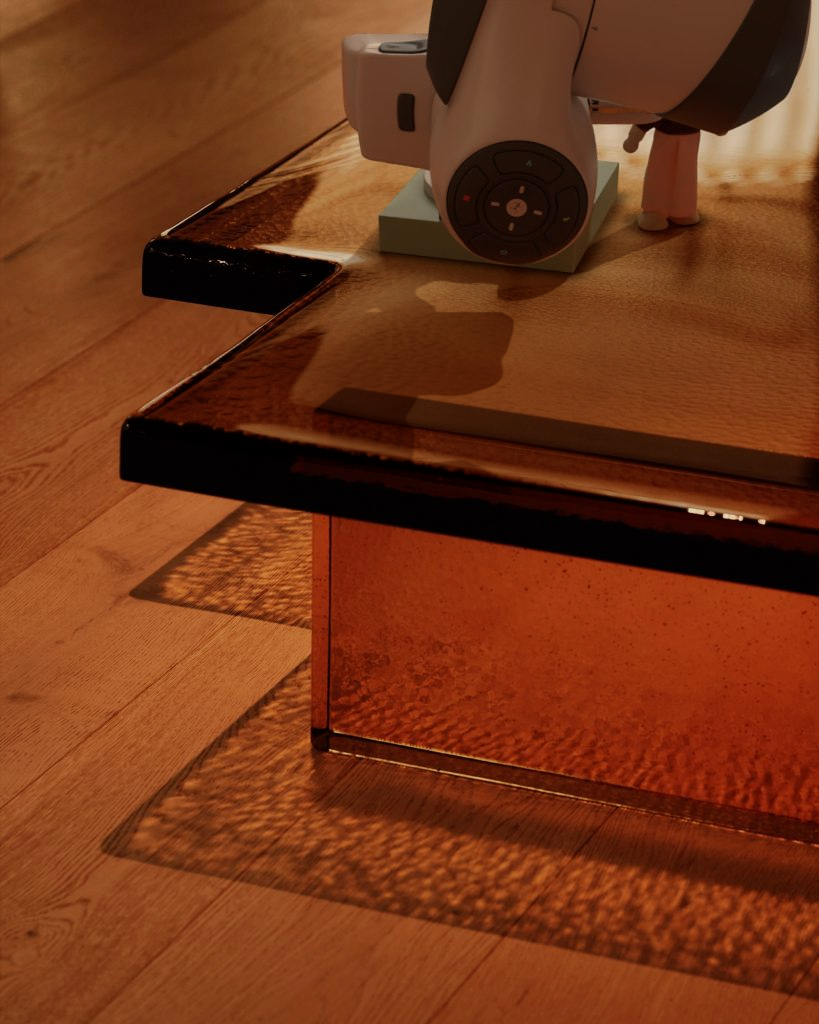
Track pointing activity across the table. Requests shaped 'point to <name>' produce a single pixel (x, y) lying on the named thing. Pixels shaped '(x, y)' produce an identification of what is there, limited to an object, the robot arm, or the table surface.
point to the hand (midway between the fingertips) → (503, 39)
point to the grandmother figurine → (668, 173)
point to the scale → (423, 233)
